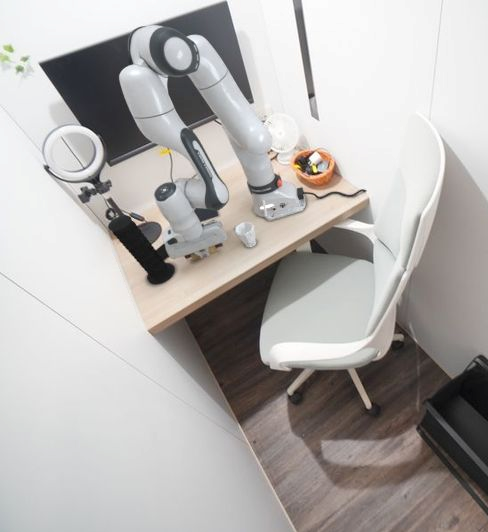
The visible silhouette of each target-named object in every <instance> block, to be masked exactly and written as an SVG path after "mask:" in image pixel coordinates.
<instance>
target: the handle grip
mask: <svg viewBox="0 0 488 532" xmlns="http://www.w3.org/2000/svg"><path fill="white" fill-rule="evenodd" d="M107 228H108V230H109V231H111V232H112V234H113V235H114V236H115V237H116V239H117V240H118V241H119V242H120V243H121V244H122V246H123V247H124V248H125V249H126V250H127V251H128V253H129V254H130V255H131V256H132V257H133V258H134V260H135V261H136V262H137V263H138V264H139V265H140V266H141V267H142V269H144V271H145V272H146V274H147V275H146V280H147V282H148V283H149V284H151V285H162V284H163V283H166V282H167V281H169V280H170V279H171V278H173V276H174V274H175V272H176V268H175V265H173V264H172V263H170V262H166V261H164V260H165V259H164V260H163V259H162V258H161V256H160V255H159V253H157V251H156V250H157V249H155V246H153V244H152V243H151V242H150V240H149V239H148V238H147V236H145V234H144V233H143V232H142V230H141V229H140V228H139V226H138V225H137V223H136V222H135V221H134V220H133V219H132V217H131V216H130V215H126V214H125V215H120V216H117V217H115V218H113V219H111V221H110V222H109V223H108V225H107Z"/></svg>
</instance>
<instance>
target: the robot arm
mask: <svg viewBox="0 0 488 532" xmlns="http://www.w3.org/2000/svg"><path fill="white" fill-rule="evenodd" d="M127 50H128V51H127V52H128V57H127V58H128V64H129V65H128V66H126V67H124V68H123V69H122V70H121V71H120V73H119V75H118V80H119V84H120V87H121V91H122V94H123V97H124V100H125V102H126V104H127V108H128V109H129V112H130V113H131V115H132V118H133V120H134V121H135V123H136V125H137V127H138V129H139V131H140V132H141V133H142V134H143V136H144V137H145V138H146V139H147V140H149V141H150V142H151V143H153V144H156V145H158V146H160V147H164V148H167V149H169V150H172V151H174V152H176V153H178V154H179V155H181V156H183V157H184V158H185V159H186V160H187V161H188V162H189V164H190V166H191V167H192V169H193V171H194V172H195V174H196V175H197V178H194V177H193V178H192V177H180V178H177V179H175V181H174V182H172V181H168V182H167V181H166V182H164V183H162V184H160V185H159V186H157V188H156V189H155V190H154V194H153V197H154V202H155V204H156V206H157V208H158V210H159V212H160V213H161V215H162V216H163V218H164V219H165V220H166V221H167V222H168V223H169V225H170V226H168V227H166V228H165V229H164V230H163V231H162V244H165V247H166V251H167V253H168V255H169V256H168V257H169V258H170V259H172V260H177V259H179V258H183V257H184V256H185V255H188V254H191V253H195V254H196V255H199V256H200V257H201V258H200V259H204V258H207V257H209V256H210V255H211V254H210V255H209V252H208V251H209V247H211V246H213V245H216V244H219V243H222V244H223V243H225V242H226V241H227V239H228V237H227V234H226V231H225V229H224V228H223V224H222V222H221V221H220V220H218V219H212V220H210V221H206V222H203V223H202V221H201V222H200V220H199V219H198V217H197V215H196V214H195V213H194V210H195V209H196V208H204V209H211V210H217V212H218V211H221V210H222V209H223V208H224V207H225V206H227V204H228V202H229V201H230V191H229V189H228V186H227V185H226V183H225V182H224V181H223V179H222V178H221V176H220V175H219V174H218V172H217V170H216V167H214V164H213V163H212V161H211V159H210V157H209V155H208V154H207V153H208V152H206V149H205V147H204V146H203V144H202V143H201V141H200V139H199V137H198V136H197V135H196V133H195V132H194V131H193V130H192V129H190V128H189V127H188V126H187V125H186V124H185V123H184V121H183V120H182V118H181V117H180V115H179V114H178V112H177V111H176V108H175V106H174V103H173V101H172V99H171V97H170V95H169V89H168V80H169V78H168V77H172V78H182V77H184V76H187V77H188V78H189V79H190V80H191V82H192V84H193V85H194V86H195V88H196V89H197V91H198V92H199V94H200V95H201V97H202V98H203V100H204V101H205V103H206V104H207V105H208V107H209V108H210V109H211V111H212V112H213V113H214V114H215V116H216V117H217V118H218V120H220V125H221V128H222V130H223V132H224V133H225V135H226V137H227V140H228V142H229V144H230V145H231V148H232V150H233V152H234V154H235V156H236V157H237V160H238V161H239V163H240V165H241V168H242V171H243V173H244V176H245V178H246V179H245V180H246V185H247V188H248V191H249V193H250V195H251V196H252V203H253V211H254V214H255V215H257V216H258V217H261V218H265V220H267V221H273V220H278V219H280V218H284V217H287V216H290V215H293V214H297V213H300V212H302V211H304V209H305V207H306V204H307V200H306V196H305V195H312V196H314V197H315V198H317V199H325V198H326V197H328V196H330V195H333V194H338V195H341V196H344V197H354V196H356V195H358V194H359V193H361V192H367V189H365V188H361V189H359V190H358V191H356V192H354V193H352V194H347V193H343V192H341V191H336V190H335V191H330V192H328V193H326V194H324V195H321V196H318V194H316V193H314V192H311V191H304V188H303V186H302V187H296V185H295V184H294V183H292V182H288V181H286V180H282V177H281V174H280V172H278V174H277V173H275V171H274V168H273V164H272V161H271V157H270V155H269V153H268V152H269V151H270V150H271V148H272V145H273V137H272V136H273V135H272V134H271V132H270V131H269V129H268V127H267V126H266V125H265V124H264V122H263V121H262V119H261V118H260V116H259V115H258V113H257V112H256V110H255V109H254V107H253V105H252V104H251V103H250V102H249V101H248V100H247V98H246V97H245V95H244V94H243V92H242V91H241V89H240V87H239V86H238V84H237V82H236V81H235V79H234V77H233V75H232V74H231V72H230V70H229V68H228V67H227V65H226V64H225V62H224V61H223V59H222V58H221V56H220V55H219V54H218V52H217V51H216V49H215V48H214V47H213V45H212V44H211V43H210V42H209V41H208V39H207V38H205V37H204V36H203V35H200V34H190V35H187V36H186V35H185V34H184V33H182V32H180V31H179V30H177V29H175V28H173V27H170V26H164V25H156V24H151V25H145V26H144V25H143V26H142V25H141V26H138V27H136V28H135V29H133V30H131V32H130V34H129V35H128V39H127ZM202 249H205V251H203V252H200V251H199V250H202Z"/></svg>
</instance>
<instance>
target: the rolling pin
mask: <svg viewBox="0 0 488 532" xmlns="http://www.w3.org/2000/svg"><path fill="white" fill-rule="evenodd" d="M222 247H224V245H223V242H222V243H219V244H216V245H213V246H211V247H209V251H208V252H209V255H213V254H216V253H218V252H219V250H218V249H219V248H222ZM199 251H200V252H203V251H205V249H202V250H199ZM183 257H184V259H186V260H188V259H192V260H193V261H196V260H200V259H202V258H201V257H200V256H199V255H196V254H195V253H191V254H188V255H185V256H183Z"/></svg>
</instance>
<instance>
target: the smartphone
mask: <svg viewBox="0 0 488 532" xmlns="http://www.w3.org/2000/svg"><path fill="white" fill-rule="evenodd" d="M155 250H156V251H157V253H159V255H160V256H161V258H162V259H163V260H165V259H167V258H168V257H170V256H169V255H168V253H167V251H166V247H165V244H164V243H162V244H161V245H160V246H159V247H157V249H155Z"/></svg>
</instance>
